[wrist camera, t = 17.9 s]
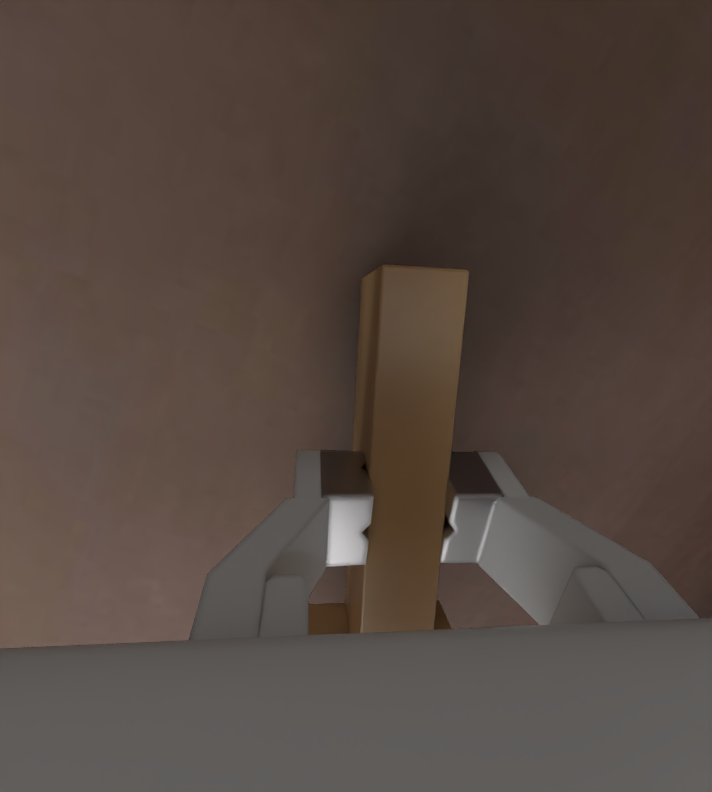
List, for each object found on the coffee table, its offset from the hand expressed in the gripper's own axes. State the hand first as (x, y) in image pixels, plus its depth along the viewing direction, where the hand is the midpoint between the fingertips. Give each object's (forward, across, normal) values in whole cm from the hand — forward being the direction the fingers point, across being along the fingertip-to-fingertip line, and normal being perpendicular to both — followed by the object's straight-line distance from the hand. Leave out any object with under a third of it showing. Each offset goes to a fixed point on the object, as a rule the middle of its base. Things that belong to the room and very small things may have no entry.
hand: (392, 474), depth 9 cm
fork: (0, 0, +5) cm, 5 cm away
